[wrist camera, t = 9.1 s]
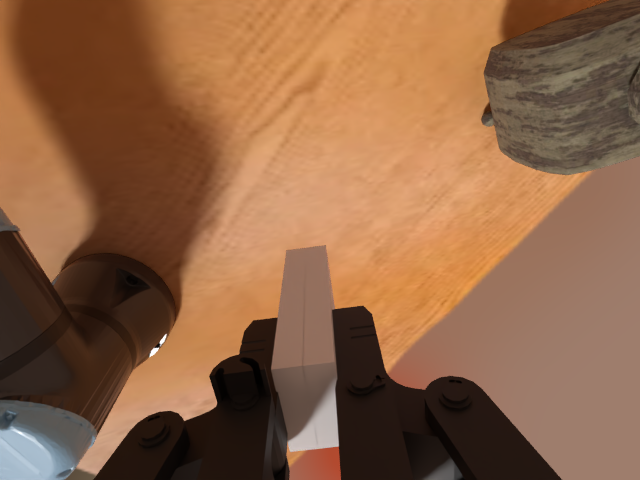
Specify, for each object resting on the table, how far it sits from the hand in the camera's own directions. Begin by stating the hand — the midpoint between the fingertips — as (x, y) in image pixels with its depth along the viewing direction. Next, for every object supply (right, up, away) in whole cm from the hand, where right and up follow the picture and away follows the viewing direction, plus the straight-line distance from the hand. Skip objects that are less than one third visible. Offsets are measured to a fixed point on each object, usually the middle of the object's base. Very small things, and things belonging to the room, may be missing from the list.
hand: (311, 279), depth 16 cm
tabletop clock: (+22, +19, +28) cm, 40 cm away
